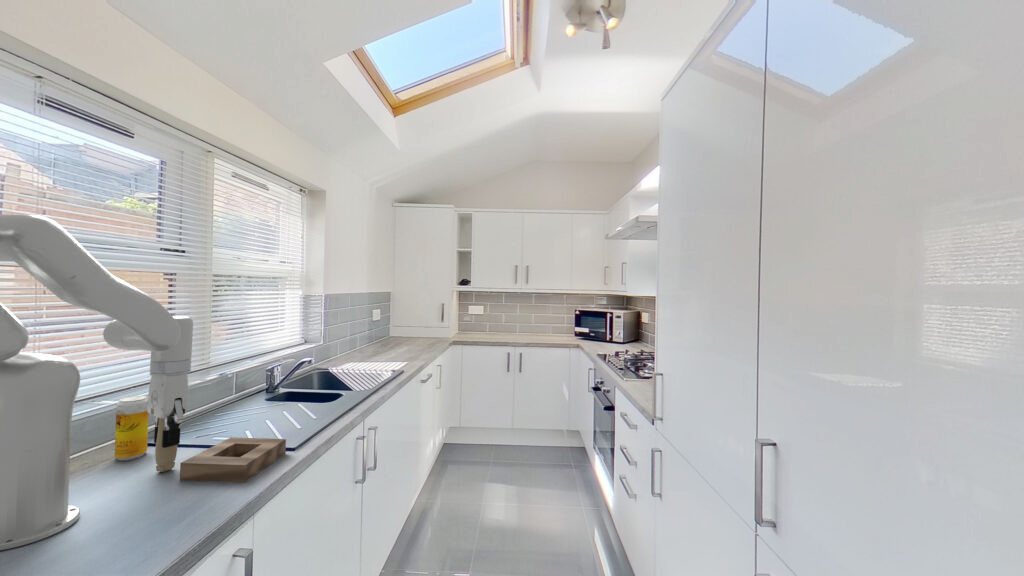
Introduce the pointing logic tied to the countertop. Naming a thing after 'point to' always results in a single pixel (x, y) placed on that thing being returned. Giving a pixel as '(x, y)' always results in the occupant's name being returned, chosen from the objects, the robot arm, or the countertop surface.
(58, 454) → the robot arm
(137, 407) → the beer can
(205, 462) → the keyed socket block
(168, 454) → the tan flared peg
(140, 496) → the countertop surface
